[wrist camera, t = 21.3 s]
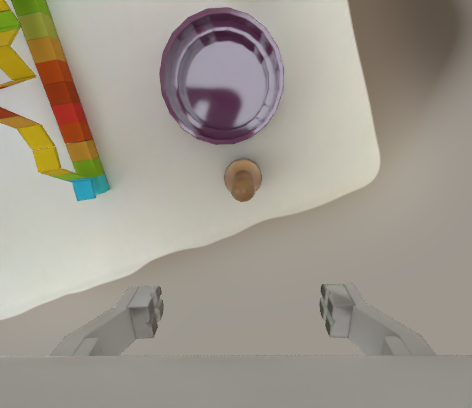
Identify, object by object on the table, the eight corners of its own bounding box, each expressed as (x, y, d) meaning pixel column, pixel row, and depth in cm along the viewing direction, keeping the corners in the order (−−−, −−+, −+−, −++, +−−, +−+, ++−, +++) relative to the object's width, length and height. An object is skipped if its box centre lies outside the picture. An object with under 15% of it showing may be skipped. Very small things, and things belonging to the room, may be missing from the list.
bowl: (178, 141, 37) (168, 146, 32) (166, 27, 33) (151, 11, 27) (276, 137, 37) (282, 142, 32) (278, 21, 32) (285, 4, 27)
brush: (224, 157, 38) (219, 171, 29) (260, 156, 38) (265, 170, 29) (226, 191, 40) (221, 214, 31) (260, 190, 39) (265, 213, 31)
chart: (-1, -54, 30) (-214, -198, 16) (25, -60, 30) (-170, -212, 16) (90, 192, 40) (8, 236, 26) (109, 189, 40) (37, 232, 26)
